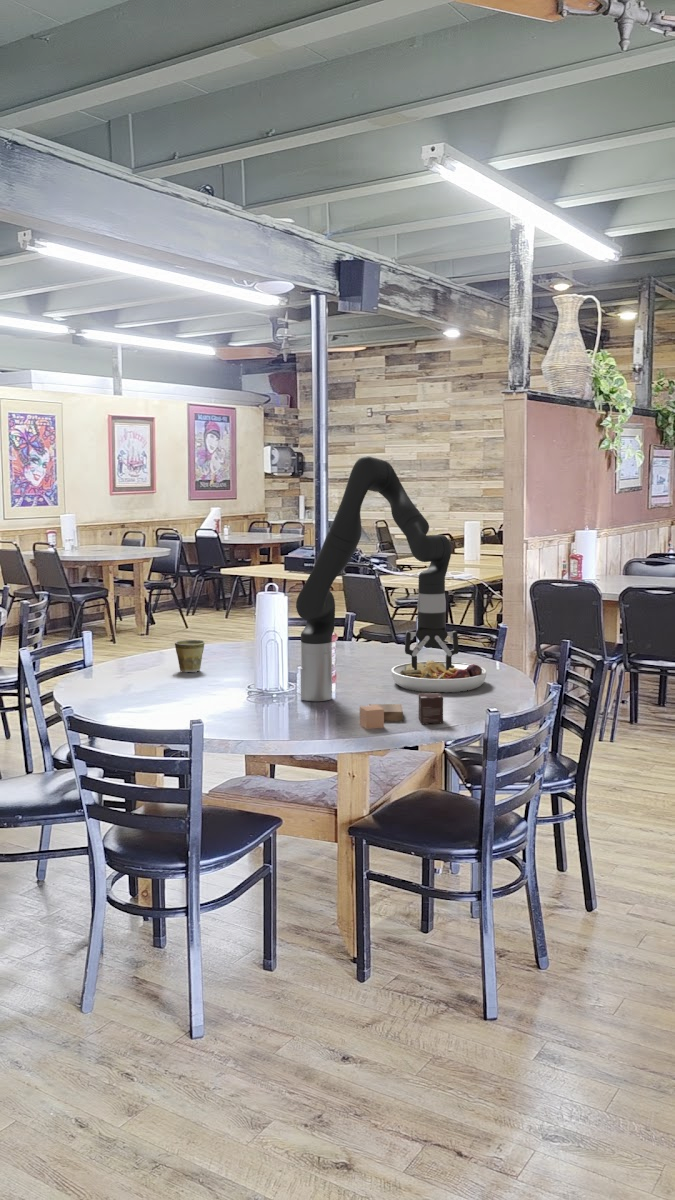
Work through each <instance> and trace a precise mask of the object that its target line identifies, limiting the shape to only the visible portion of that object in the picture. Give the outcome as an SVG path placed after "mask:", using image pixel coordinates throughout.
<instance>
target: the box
mask: <svg viewBox="0 0 675 1200" xmlns="http://www.w3.org/2000/svg"><path fill="white" fill-rule="evenodd" d="M418 720H419V722H420V721H421V722H420V724H421V723H444V697H443V696H442V693H431V692H421V693H420V692H419V693H418Z"/></svg>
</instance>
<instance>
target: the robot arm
mask: <svg viewBox="0 0 675 1200" xmlns="http://www.w3.org/2000/svg"><path fill="white" fill-rule="evenodd" d="M368 491H369V492H376V493H379V494H380V495H381V496H382V497H383V498H384V499H385V500H386V501H387V502H388V503H389V506H390V511H391V515H392V519H393V520H394V523H395V524H396V525H397V527H398V529H399V530H400V531H401V532H402V533H403V535H404V536H405V538H406V541H407V543H408V546H409V549H410V552H411V555H412V556H413V557H414V559H416V560H418V561H419V562H422V563H430V564H429V565H428V568H427V569H426V570H423V571H421V572H420V573H419V574H418V596H417V607H416V609H417V629H416V631H410V630H406V632H405V641H404V642H405V643H404V653H405V654H406V655H409V656H411V663H412V668H414V670H417V662H418V654H419V653H420V651H422V649H423V648H425V649H429V648H434V649H437V648H442V650H443V651H444V653H445V654H446V655H445V662H446V670H449V668H451V662H453V660H452V657H453V656H454V655H457V654H459V653H460V651H459V634H458V631H456V630H453V631H447V629H446V628H447V627H446V623H447V622H446V621H447V613H446V611H447V610H446V609H447V602H446V601H447V600H446V580H445V579H446V575H447V573H448V570H449V569H448V567H449V564H450V561H451V556H452V545H451V541H450V539H449V538H448V537H447V536H446V535H444V534H429V535H428V533H429V530H430V525H429V523H428V521H427V519H426V518H425V516H424V515H423V514H422V513H421V512H420V511H419V509H418V508H417V506H416V505H415V504H414V503H413V501H412V500H411V499H410V496H409V495H408V494H407V492H406V490H405V488H404V486H403V484H402V483H401V480H400V479H399V476H398V475H397V473H396V471H395V469H394V467H393V465H391V464H390V462H388V461H387V460H384V459H382V458H381V459H380V458H376V457H372V456H366V455H364V456H361V457H359V458H358V459H357V460H356V462H355V463H354V464H353V466H352V469H351V472H350V473H349V477H348V480H347V483H346V486H345V490H344V493H343V497H342V498H341V502H340V504H339V507H338V509H337V511H336V515H335V517H334V519H333V521H332V523H331V525H330V527H329V529H328V532H327V534H326V536H325V539H324V541H323V544H322V546H321V549H320V550H319V554H318V555H317V558H316V560H315V563H314V565H313V568H312V570H311V572H310V574H309V576H308V577H307V580H306V581H305V583H304V585H303V587H302V588H301V590H300V592H299V594H298V596H297V598H296V602H295V606H296V607H295V608H296V612H297V615H298V616H299V617H300V618H301V619H303V620H305V621H306V625H305V626H304V629H303V630H302V631H301V633H300V701H307V702H326V701H330V700H332V699H333V658H332V657H333V635H334V632H335V624H336V623H335V622H336V619H335V618H336V601H335V597H334V594H333V593H332V592H331V587H332V585H333V583H334V582H335V580H336V579H337V577H338V576H339V574H341V572H342V571H343V570H344V568H345V567H346V566H347V565H348V563H349V562H350V560H351V559H352V558H353V555H354V553H355V551H356V549H357V547H358V545H359V543H360V540H361V536H362V520H361V508H362V505H363V503H364V500H365V497H366V495H367V493H368ZM414 637H416V639H417V640H418V642H417V644H416V645H415V646H414V648H413V650H412V649H411V641H412V640H413V639H414ZM448 637H449V639H450V640H452V649H450V648H449V647H448V646H447V644H446V643H445V641H446V639H447V638H448Z"/></svg>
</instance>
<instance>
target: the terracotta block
mask: <svg viewBox="0 0 675 1200" xmlns="http://www.w3.org/2000/svg"><path fill="white" fill-rule="evenodd" d="M359 725H360V726H361V727H362V728H363V729H365V730H368V729H370V730H371V729H384V728H385V721H384V709H383V708H381V707H379V706H378V705H374V706H369V705H366V706H365V705H362V706H359Z"/></svg>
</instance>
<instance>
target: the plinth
mask: <svg viewBox="0 0 675 1200" xmlns="http://www.w3.org/2000/svg"><path fill="white" fill-rule="evenodd" d="M374 705H378V706H379V707H381V708H383V709H384V722H404V711H403V706H402V705H403V704H400V703H395V704H394V703H388V704H387V703H386V704H385V703H384V704H383V703H382V704H381V703H373V704H372V703H369V704H368V706H374Z"/></svg>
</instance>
